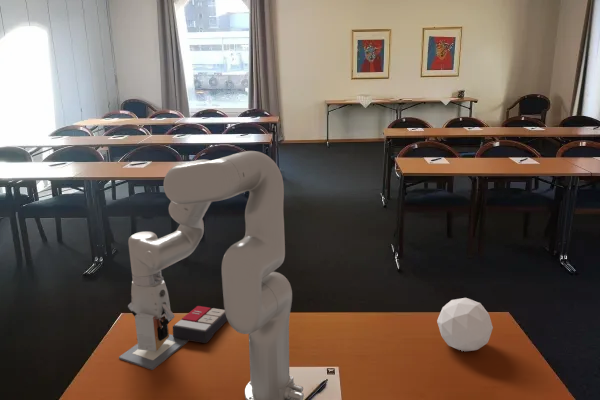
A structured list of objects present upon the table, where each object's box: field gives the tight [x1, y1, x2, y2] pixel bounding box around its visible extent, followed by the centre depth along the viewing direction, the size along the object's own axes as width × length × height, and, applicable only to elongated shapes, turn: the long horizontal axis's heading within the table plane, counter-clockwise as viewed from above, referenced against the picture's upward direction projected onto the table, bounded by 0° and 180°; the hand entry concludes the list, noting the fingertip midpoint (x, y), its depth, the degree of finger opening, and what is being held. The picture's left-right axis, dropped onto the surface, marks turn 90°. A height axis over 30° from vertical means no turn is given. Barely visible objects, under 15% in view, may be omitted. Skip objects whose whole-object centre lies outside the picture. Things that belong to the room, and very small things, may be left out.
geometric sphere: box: [436, 297, 494, 352], centre depth 134 cm, size 14×15×15 cm
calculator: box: [172, 305, 228, 344], centre depth 145 cm, size 11×4×15 cm
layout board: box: [118, 333, 189, 371], centre depth 136 cm, size 12×15×1 cm
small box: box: [134, 312, 170, 351], centre depth 134 cm, size 8×6×10 cm
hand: (153, 334), depth 134 cm, fingers closed on small box, 6 cm apart
